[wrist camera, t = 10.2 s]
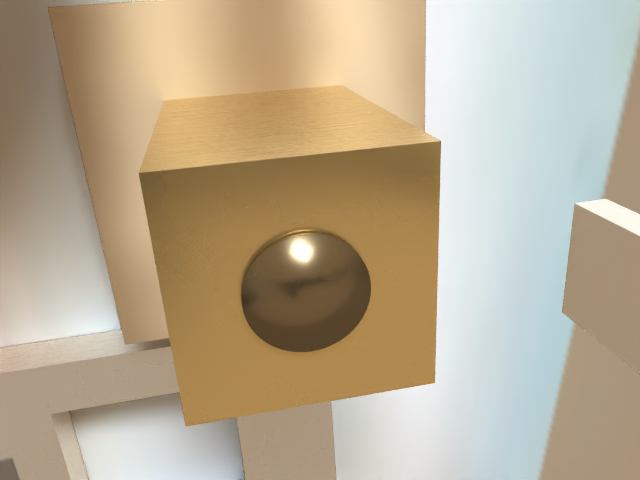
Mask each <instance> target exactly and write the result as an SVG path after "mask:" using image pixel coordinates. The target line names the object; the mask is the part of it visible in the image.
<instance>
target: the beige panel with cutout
mask: <svg viewBox="0 0 640 480" xmlns="http://www.w3.org/2000/svg"><path fill="white" fill-rule="evenodd" d="M178 392H179V387H178V382H177V377H176V371H175V366H174V361H173V355H172V350H171V344H170V339H169V338H165V339H159V340H153V341H146V342H140V343H133V344H127V345H125V342H124V338H123V333H122V330H116V331H109V332H102V333H96V334H89V335H83V336H76V337H69V338H63V339H56V340H50V341H43V342H36V343H30V344H23V345H16V346H10V347H3V348H0V480H89V479H88V476H87V472H86V469H85V465H84V462H83V458H82V455H81V451H80V448H79V444H78V441H77V438H76V434H75V431H74V427H73V424H72V420H71V417H70V413H69V411H72V410H78V409H84V408H89V407H95V406H101V405H107V404H113V403H119V402H125V401H131V400H137V399H142V398H148V397H154V396H160V395H166V394H172V393H178ZM236 419H237V426H238V432H239V439H240V446H241V452H242V459H243V466H244V472H245V479H242V480H336V468H335V453H334V438H333V423H332V409H331V401H328V402H322V403H316V404H311V405H305V406H299V407H294V408H288V409H282V410H276V411H271V412H265V413H259V414H253V415H248V416H242V417H236Z"/></svg>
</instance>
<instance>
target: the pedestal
mask: <svg viewBox="0 0 640 480" xmlns="http://www.w3.org/2000/svg"><path fill="white" fill-rule="evenodd" d="M48 11H49V16H50V20H51V24H52V29H53V33H54V38H55V42H56V46H57V51H58V55H59V59H60V64H61V68H62V72H63V77H64V81H65V85H66V90H67V94H68V98H69V103H70V107H71V112H72V116H73V120H74V125H75V129H76V133H77V138H78V142H79V146H80V151H81V155H82V159H83V164H84V168H85V172H86V177H87V181H88V186H89V190H90V194H91V199H92V203H93V207H94V212H95V216H96V220H97V225H98V229H99V233H100V238H101V242H102V246H103V251H104V255H105V260H106V264H107V268H108V273H109V277H110V281H111V286H112V290H113V294H114V299H115V303H116V307H117V312H118V316H119V320H120V325H121V329H122V333H123V338H124V342H125V345H127V344H133V343H140V342H146V341H153V340H159V339H165V338H169V334H168V328H167V323H166V318H165V312H164V307H163V302H162V296H161V291H160V285H159V280H158V275H157V269H156V264H155V259H154V253H153V248H152V243H151V237H150V232H149V227H148V221H147V216H146V210H145V205H144V200H143V194H142V189H141V184H140V178H139V170H140V167H141V164H142V162H143V159H144V156H145V153H146V150H147V147H148V145H149V142H150V139H151V136H152V133H153V130H154V127H155V125H156V122H157V119H158V116H159V113H160V110H161V108H162V105H163V102H164V100H173V99H184V98H196V97H207V96H219V95H230V94H242V93H253V92H265V91H276V90H288V89H299V88H311V87H322V86H334V85H342V86H344V87H346V88H348V89H349V90H351V91H353V92H355V93H357V94H358V95H360V96H362V97H364V98H365V99H367V100H369V101H371V102H372V103H374V104H376V105H378V106H380V107H381V108H383V109H385V110H387V111H388V112H390V113H392V114H394V115H396V116H397V117H399V118H401V119H403V120H404V121H406V122H408V123H410V124H412V125H413V126H415V127H417V128H419V129H420V130H422V131H424V132H425V47H426V0H152V1H137V2H122V3H107V4H92V5H76V6H61V7H48Z"/></svg>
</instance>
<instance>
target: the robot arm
mask: <svg viewBox="0 0 640 480" xmlns="http://www.w3.org/2000/svg"><path fill="white" fill-rule="evenodd" d="M562 313H564V314H565V315H566V316H567V317H569V318H570V319H571V320H572V321H574V322H575V323H576V324H577V325H579V326H580V327H581V328H582V329H584V330H585V331H586V332H587V333H589V334H590V335H591V336H592V337H594V338H595V339H596V340H597V341H599V342H600V343H601V344H602V345H603V346H605V347H606V348H607V349H608V350H610V351H611V352H612V353H613V354H615V355H616V356H617V357H618V358H620V359H621V360H622V361H623V362H625V363H626V364H627V365H628V366H630V367H631V368H632V369H633V370H635V371H636V372H637V373H638V374H639V375H640V214H638V213H635V212H633V211H631V210H629V209H627V208H624V207H622V206H620V205H618V204H616V203H614V202H611V201H609V200H607V199H601V200H594V201H587V202H580V203H575V205H574V213H573V222H572V231H571V239H570V248H569V256H568V265H567V273H566V282H565V290H564V299H563V307H562Z"/></svg>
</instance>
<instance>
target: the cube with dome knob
mask: <svg viewBox="0 0 640 480" xmlns="http://www.w3.org/2000/svg"><path fill="white" fill-rule="evenodd" d="M440 157H441V141H440V140H438V139H436V138H435V137H433V136H431V135H429V134H428V133H426V132H424V131H422V130H420V129H419V128H417V127H415V126H413V125H412V124H410V123H408V122H406V121H404V120H403V119H401V118H399V117H397V116H396V115H394V114H392V113H390V112H388V111H387V110H385V109H383V108H381V107H380V106H378V105H376V104H374V103H372V102H371V101H369V100H367V99H365V98H364V97H362V96H360V95H358V94H357V93H355V92H353V91H351V90H349V89H348V88H346V87H344V86H342V85H334V86H322V87H311V88H299V89H288V90H276V91H265V92H253V93H242V94H230V95H219V96H207V97H196V98H184V99H173V100H164V102H163V105H162V108H161V110H160V113H159V116H158V119H157V122H156V125H155V127H154V130H153V133H152V136H151V139H150V142H149V145H148V147H147V150H146V153H145V156H144V159H143V162H142V164H141V167H140V170H139V178H140V184H141V189H142V194H143V200H144V205H145V210H146V216H147V221H148V227H149V232H150V237H151V243H152V248H153V253H154V259H155V264H156V269H157V275H158V280H159V285H160V291H161V296H162V302H163V307H164V312H165V318H166V323H167V328H168V334H169V339H170V344H171V350H172V355H173V361H174V366H175V371H176V377H177V382H178V387H179V393H180V398H181V403H182V409H183V414H184V419H185V425H186V426H191V425H196V424H202V423H208V422H213V421H219V420H225V419H231V418H236V417H242V416H248V415H253V414H259V413H265V412H271V411H276V410H282V409H288V408H294V407H299V406H305V405H311V404H316V403H322V402H328V401H334V400H339V399H345V398H351V397H357V396H362V395H368V394H374V393H379V392H385V391H391V390H397V389H402V388H408V387H414V386H419V385H425V384H431V383H435V356H436V316H437V276H438V237H439V197H440Z"/></svg>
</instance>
